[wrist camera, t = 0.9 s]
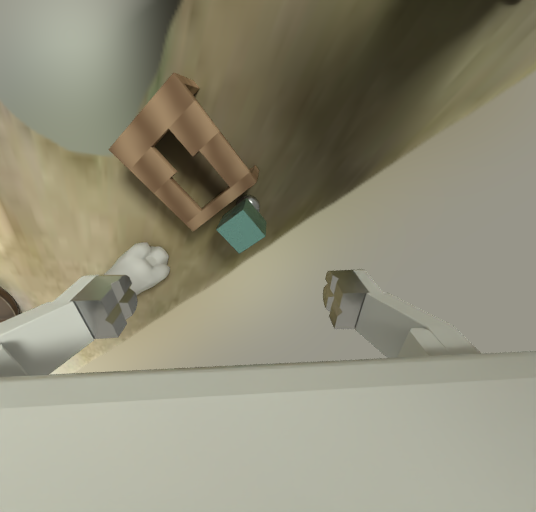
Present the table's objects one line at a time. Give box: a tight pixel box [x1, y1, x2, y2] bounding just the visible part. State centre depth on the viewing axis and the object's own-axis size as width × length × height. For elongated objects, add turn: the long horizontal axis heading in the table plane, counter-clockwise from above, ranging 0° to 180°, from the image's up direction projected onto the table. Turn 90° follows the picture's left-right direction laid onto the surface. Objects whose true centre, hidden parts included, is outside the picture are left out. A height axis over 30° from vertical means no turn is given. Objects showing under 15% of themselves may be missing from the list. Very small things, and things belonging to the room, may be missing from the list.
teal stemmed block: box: [216, 195, 266, 253], centre depth 39 cm, size 5×5×12 cm
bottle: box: [104, 242, 170, 295], centre depth 51 cm, size 9×9×30 cm
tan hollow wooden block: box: [109, 73, 259, 231], centre depth 35 cm, size 14×16×8 cm
